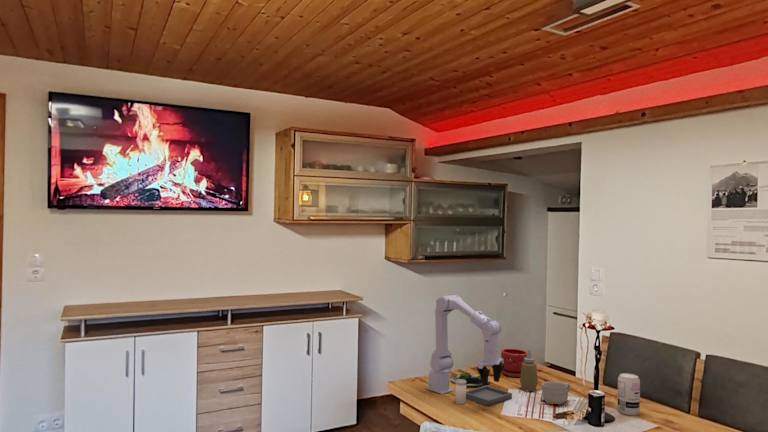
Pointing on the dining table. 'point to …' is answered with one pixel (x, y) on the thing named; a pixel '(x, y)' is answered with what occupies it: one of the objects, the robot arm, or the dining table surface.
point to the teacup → (555, 392)
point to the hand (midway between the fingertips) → (490, 383)
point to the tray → (488, 395)
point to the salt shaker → (460, 391)
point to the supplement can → (628, 394)
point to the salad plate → (469, 380)
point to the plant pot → (513, 361)
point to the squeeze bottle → (529, 373)
